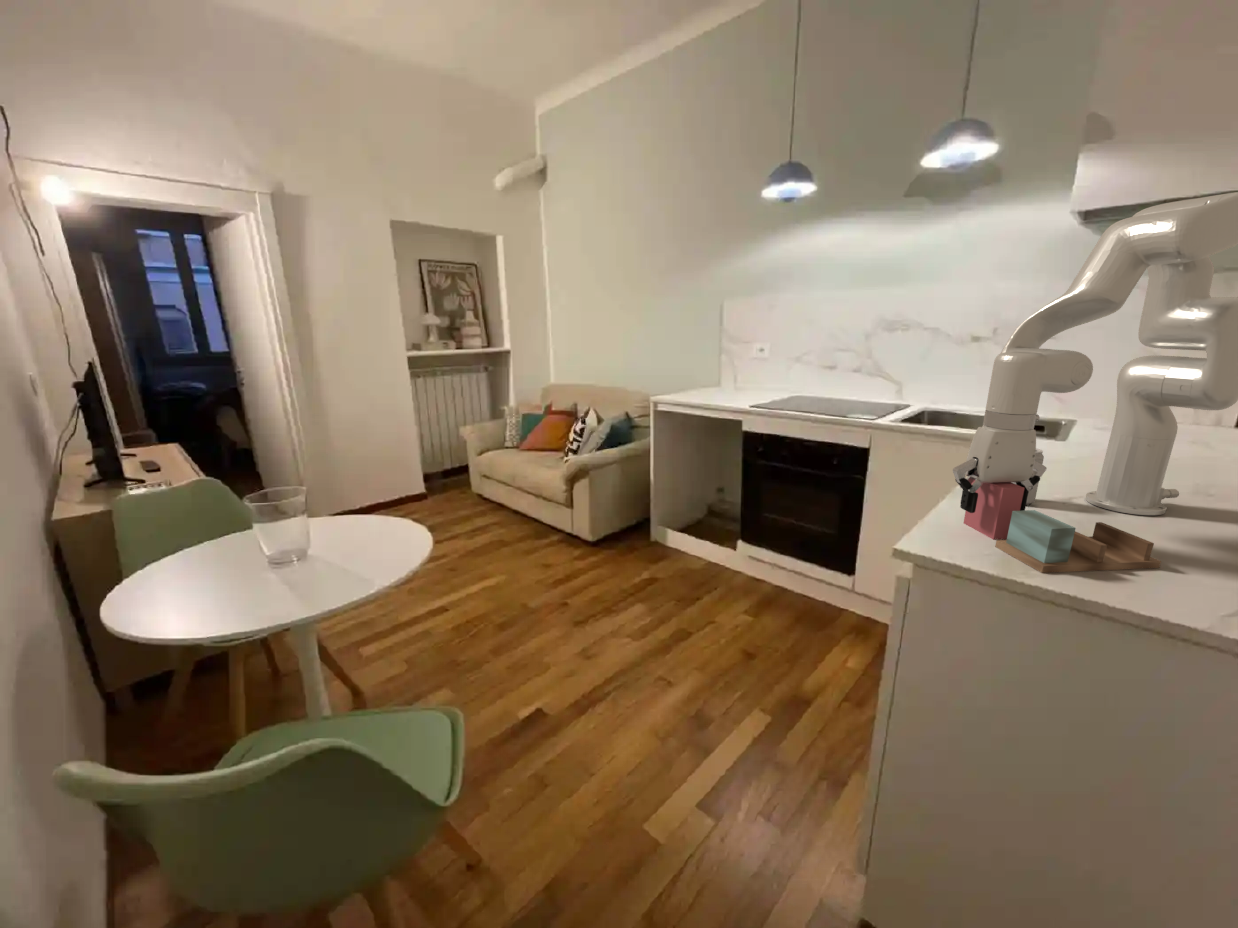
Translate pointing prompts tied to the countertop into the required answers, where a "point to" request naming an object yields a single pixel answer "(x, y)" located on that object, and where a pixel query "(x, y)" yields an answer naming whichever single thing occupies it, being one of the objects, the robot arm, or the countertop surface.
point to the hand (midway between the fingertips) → (991, 509)
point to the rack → (1073, 546)
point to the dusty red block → (995, 509)
